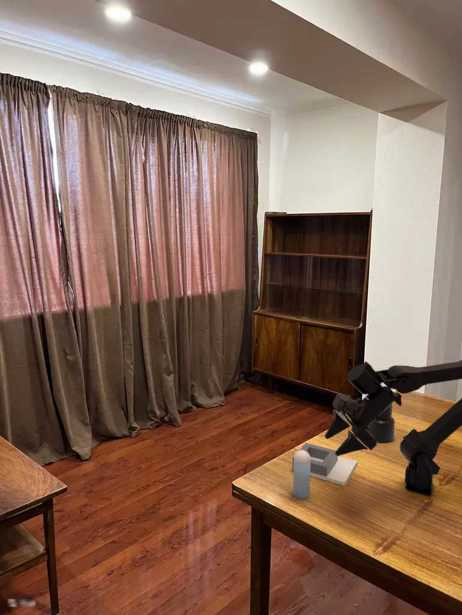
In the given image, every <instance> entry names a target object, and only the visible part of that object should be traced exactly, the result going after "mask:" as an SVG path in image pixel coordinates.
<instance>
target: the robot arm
mask: <svg viewBox="0 0 462 615" xmlns="http://www.w3.org/2000/svg"><path fill="white" fill-rule="evenodd" d="M346 380H347V381H348V382H349V383H350V384H351V385H352V386H353V387H354V388H355V389H356V390H357V391H358V392H360V394H362V395H365V397H363V398H361V397H357V398H355V400H354V399H352V398H351V397H349V396H346V395H343V394H341V393H337V394H336V396H335V397H334V399H333V402H332V407H333V408H334V409H332V412H333V419H332V421H331V424H330V425H329V427H328V428H327V431H326V433H325V435H324V437H325V439H326V440H329V439H330V438H332V437H335V436H337V435H338V434H339V433H341V432H343V431H345V430H347V429H348V428H350V427H351V429H348V430H347V437H346V438H345V440H344V441H343V442H342V443H341V445H340V446H339V447H338V448H337V449H336V452H335V454H336V455H337V456H339V457H341V456H344V455H347V454H350V453H354V452H358V451H362V450H363V451H364V450H365V451H368V450H369V451H372V450H373V449H374V448H376V446H377V445H378V442H377V440H376V439H375V438H374V437H373V435H372V434H371V433H370V432H369V430H370V429H369V428H368V426H369V425H370V424H371V423H372V422H373V421H374V420H375V419H377V420H378V421H379V420H380V419H381V418H380V417H379V415H380V414H381V413H382V412H383V411H385V410H386V409H387V408H388V407H389V406H390V405H391V404H392V405H393V403H396V405H398V406H399V407H401V406H402V405H403V401H402V396H403V395H404V394H409V393H412V392H416V391H418V390H420V389H421V388H423V386H427V385H432V384H437V383H445V382H451V381H458V380H462V359H461V360H459V361H454V362H453V361H452V362H446V363H445V362H444V363H440V364H432V365H425V366H412V365H403V364H401V365H397V364H396V365H392V366H389V368H388V369H382V370H377V371H376V370H375V369H374V367H373V366H372V365H371V364H370V363H369V362H368V361H364V362H363V363H361V364H357V365H355V366H353V367H352V368H351V369H350V370H349V371H348V373H347V375H346ZM383 384H384V386H383ZM393 390H395V391H397V392H394V391H393ZM402 394H403V395H402ZM461 427H462V397H461V398H460V399H459V400H457V402H456V403H455V404H453V405H452V406H451V407H450V408H449V409H447V410H446V411H445V412H444V413H443V414H441V415H440V416H439V418H437V419H435V421H434V422H433V423H432V424H430V425H429V426H428V427H427V428H426V429H424V430H421V431H418V430H417V429H415V428H413V429H411V430H410V432H409V433H408V434H406V435H405V436H402V440H401V442H400V444H399V451H400V453H401V454H402V455H403V456H404V458H405V459H406V460H407V461H408V465H407V466H406V468H405V473H404V484H405V488H404V489H405V490H406V491H409V492H414V493H416V494H417V493H418V494H420V495H421V494H422V495H424V496H428V497H431V496H432V493H433V489H434V484H435V483H434V476H435V475H439V474H438V473H440V472H439V471H440V468H441V467H440V466H439V465H438V464H437V462H436V461H434V459H435V457H436V456H437V453H438V450H439V447H440V446H441V444H442V443H443V442H444V441H446V440H447V439H448V438H449V437H450V436H451V435H453V434H454V433H455V432H456V431H458V429H459V428H461Z"/></svg>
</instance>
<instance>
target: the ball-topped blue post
mask: <svg viewBox="0 0 462 615" xmlns="http://www.w3.org/2000/svg"><path fill="white" fill-rule="evenodd" d="M293 457H294V467H293V475H292V477H293V483H292V486H293V487H292V494H293V496H294V498H297V499H299V500H305V499H308V498H310V494H311V490H310V489H311V476H310V462H311V458H310V455H309V453H308V452H306V451H304V450H300V449H299V450H297V451H296V452H295V453H294V455H293Z"/></svg>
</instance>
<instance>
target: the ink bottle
mask: <svg viewBox="0 0 462 615" xmlns="http://www.w3.org/2000/svg"><path fill="white" fill-rule="evenodd" d="M379 417H380V418H381V419H380V420H379V421H378V420H377V419H375V420H374V421H373V422H372V423H371V424H370V425H369V426H368V428H369V429H370V430H369V432H370V433H371V434H372V435H373V437H374V438H375V439H376V440H377V443H389V442H391V441H393V440H394V439H395V427H396V421H395V419H394V418H393V403H392V404H391V405H390V406H389V407H388V408H387V409H386V410H385V411H383V412H382V413H381V414H380V415H379Z"/></svg>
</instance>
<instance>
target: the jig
mask: <svg viewBox="0 0 462 615" xmlns="http://www.w3.org/2000/svg"><path fill="white" fill-rule="evenodd" d="M299 450H304V451H306V452H308V453H309V455H310V458H311V462H310V477H313V478H316V479H318V480H319V479H320V480H324V481H326V482H330V483H334V484H337V485H341V486H343V487H345V486H346V484H347V482H348V481H349V479H350V477H351V476H352V474H353V472H354V470H355V468H356V467H357V465H358V460H354V459H351V458H346V457H342V456H337V455H336V454H335V452H336V451H337V449H336V450H335V449H331V448H327V447H324V446H319V445H315V444H312V443H308V442H305V443H304V444H303V445H302V446H301V448H299ZM292 468H294V456H292Z"/></svg>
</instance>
